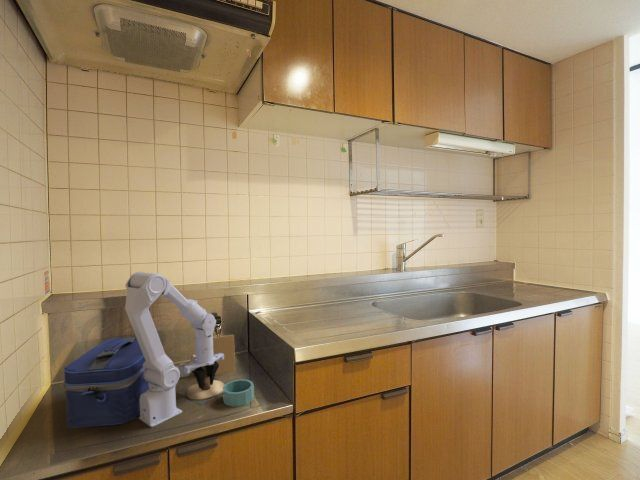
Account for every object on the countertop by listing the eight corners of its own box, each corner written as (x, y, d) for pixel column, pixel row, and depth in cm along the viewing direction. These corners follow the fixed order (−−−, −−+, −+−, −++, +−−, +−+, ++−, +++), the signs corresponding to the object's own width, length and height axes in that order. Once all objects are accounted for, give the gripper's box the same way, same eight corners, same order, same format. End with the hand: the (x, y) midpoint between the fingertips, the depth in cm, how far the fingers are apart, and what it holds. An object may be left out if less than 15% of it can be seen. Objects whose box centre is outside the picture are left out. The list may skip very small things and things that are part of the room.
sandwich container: (229, 358, 146) (228, 324, 145) (235, 372, 132) (234, 334, 131) (208, 362, 142) (207, 327, 142) (212, 376, 128) (211, 337, 128)
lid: (200, 404, 108) (200, 389, 108) (179, 393, 115) (178, 379, 115) (232, 388, 118) (231, 374, 117) (210, 379, 125) (210, 366, 125)
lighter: (177, 379, 127) (176, 358, 126) (176, 377, 128) (176, 356, 128) (197, 375, 129) (196, 355, 129) (196, 373, 131) (196, 353, 131)
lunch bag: (130, 431, 95) (126, 359, 94) (48, 438, 92) (44, 365, 91) (166, 380, 126) (164, 326, 125) (105, 385, 123) (103, 329, 122)
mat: (200, 405, 107) (200, 404, 107) (178, 394, 115) (178, 393, 115) (233, 389, 118) (233, 388, 118) (210, 379, 126) (210, 378, 126)
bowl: (236, 410, 104) (236, 396, 104) (217, 401, 110) (216, 388, 110) (259, 397, 112) (259, 384, 112) (240, 389, 117) (240, 376, 117)
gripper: (192, 356, 107) (193, 398, 108) (229, 343, 119) (230, 381, 120) (179, 352, 112) (181, 392, 112) (216, 339, 123) (218, 375, 124)
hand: (205, 386), depth 116 cm, fingers closed on lid, 3 cm apart
